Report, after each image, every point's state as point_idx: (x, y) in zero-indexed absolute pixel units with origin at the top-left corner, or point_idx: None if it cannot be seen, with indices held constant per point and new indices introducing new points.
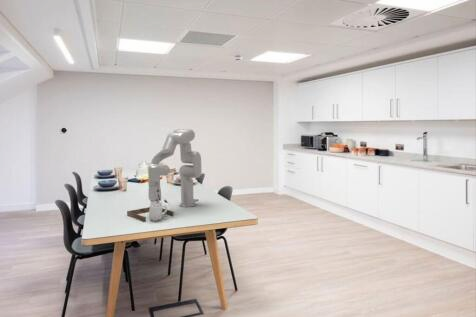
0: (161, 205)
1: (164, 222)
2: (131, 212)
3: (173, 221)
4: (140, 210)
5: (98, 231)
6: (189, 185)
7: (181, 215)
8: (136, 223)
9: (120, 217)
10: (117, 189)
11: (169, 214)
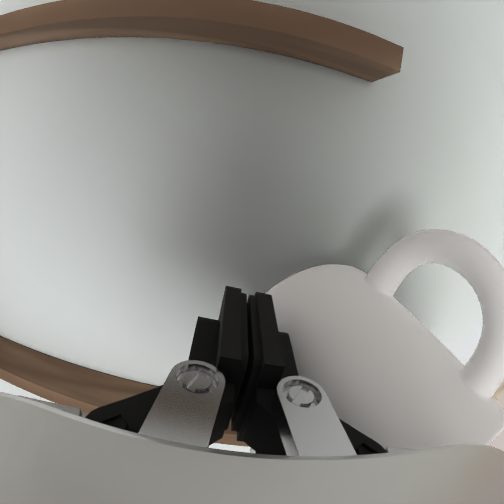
0: (467, 395)
1: (446, 323)
2: (10, 379)
3: (495, 254)
4: None
5: None
6: None
7: (429, 14)
8: (249, 450)
9: (13, 393)
10: None
11: (313, 59)
